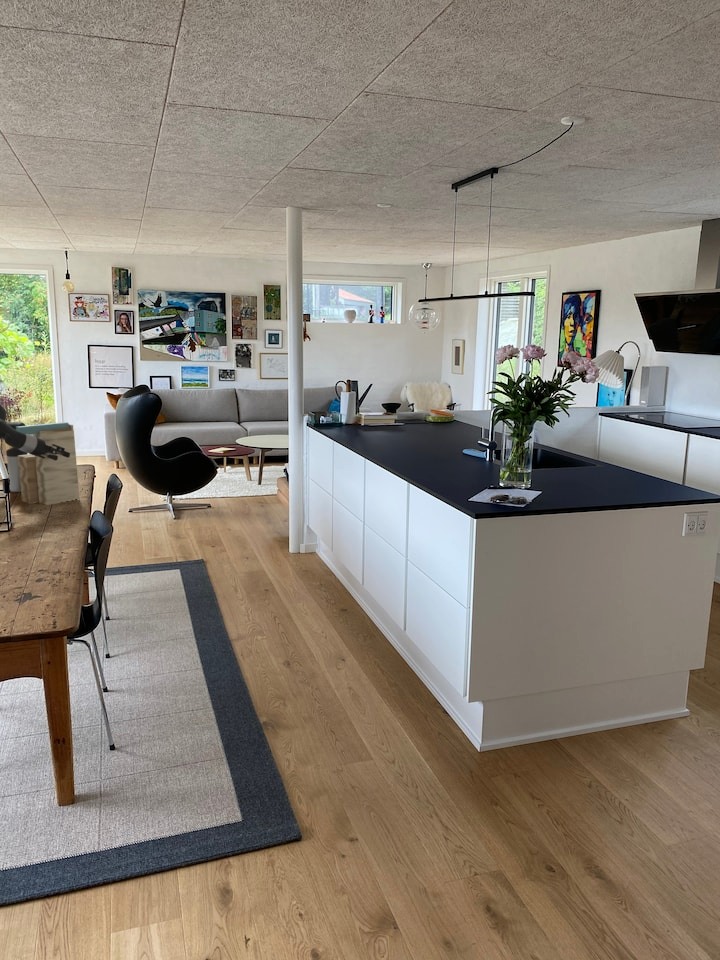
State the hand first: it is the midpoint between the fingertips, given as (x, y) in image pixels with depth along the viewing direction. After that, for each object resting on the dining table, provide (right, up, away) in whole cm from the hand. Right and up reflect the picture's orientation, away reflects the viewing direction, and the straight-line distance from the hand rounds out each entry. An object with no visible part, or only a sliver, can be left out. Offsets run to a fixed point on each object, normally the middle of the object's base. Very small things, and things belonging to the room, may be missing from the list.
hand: (63, 456), depth 323 cm
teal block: (-10, +11, +3) cm, 15 cm away
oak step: (-16, -19, +15) cm, 29 cm away
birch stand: (-7, -20, +12) cm, 24 cm away
